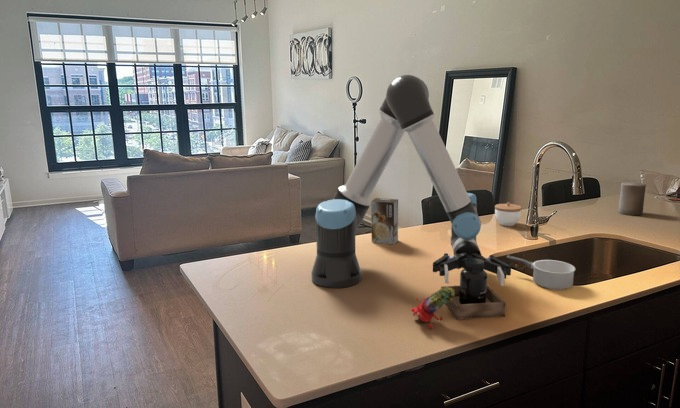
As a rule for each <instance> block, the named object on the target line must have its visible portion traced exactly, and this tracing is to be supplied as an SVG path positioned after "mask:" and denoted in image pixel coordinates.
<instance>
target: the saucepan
mask: <svg viewBox="0 0 680 408" xmlns="http://www.w3.org/2000/svg"><path fill="white" fill-rule="evenodd" d="M506 258H507V259H509V260H512V261H515V262H519V263H522V264H524V265H525V266H526V267H528V269H533V274H532V279H533V280H532V281H533V282H534V283H535V284H537V285H539V286H540V287H543V288H546V289H549V290H559V291H560V290H565V289H567V288H569V289H570V288H571V287H573V285H574V275H575V271H576V269H577V268H576V267H575V266H574V265H573V264H571V263H569V262H565V261H561V260H555V259H554V260H553V259H540V260H535V261H534V262H533V261H528V260H527V259H523V258H519V257H516V256H512V255H509V254H508V255H506Z"/></svg>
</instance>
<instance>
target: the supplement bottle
mask: <svg viewBox="0 0 680 408" xmlns="http://www.w3.org/2000/svg"><path fill="white" fill-rule="evenodd" d="M464 267H465V269H464V268H462V270H461V271H460V274H459V286H460V290H459V303H460V304H476V303H486V293H487V286H488V276H489V275H488V273H487V271H486V270H484V261H483V260H481V259H478V258H468V259H466V260H465V265H464Z"/></svg>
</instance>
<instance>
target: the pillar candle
mask: <svg viewBox="0 0 680 408" xmlns="http://www.w3.org/2000/svg"><path fill="white" fill-rule="evenodd" d="M646 187H647V185H646V183H643V182H635V181H631V182H629V181H627V182H626V181H624V182H621V185H620V196H619V202H618V213H619V214H620V215H627V216H636V217H637V216H642V215H643V214H644V213H643V212H644V203H645V197H646V195H645V194H646Z"/></svg>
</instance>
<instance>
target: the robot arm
mask: <svg viewBox="0 0 680 408" xmlns="http://www.w3.org/2000/svg"><path fill="white" fill-rule="evenodd" d="M429 97H430V92H429V89H428V87H427V84H426V83H425V82H424V80H422V79H420V77H417V76H415V75H411V74H402V75H399V76H397V77H396V78H394V79H393V80H392V81H391V82H390V83H389V85H388V87H387V90H386V94H385V98H384V100H383V102H382V104H381V106H380V108H379V110H378V111H379V115H380V118H379V120H378V122H377V124H376V125H375V127H374V130H373V131H372V133H371V135H370V137H369V139H368V141H367V143H366V144H365V147H364V148H363V150H362V153H361V154H360V156H359V158H358V160H357V162H356V164H355V166H354V168H353V170H352V172H351V173H350V175H349V177H348V179H347V181H346V183H345V184H343V185H340V186H338V188H337V189H336V192H335V193H334V195H333V197H332V199H328V200H324V201H322V202H320V203H319V204H318V205H317V207H316V209H315V210H316V211H315V217H314V219H315V231H316V233H315V235H316V256H315V260H314V262H313V265H312V269H311V281H312V283H314V284H315V285H317V286H320V287H323V288H331V289H332V288H334V289H338V288H339V289H340V288H348V287H353V286H355V285H357V284H359V283H360V282H361V281H362V270H361V267H360V264H359V260H358V258H357V257H358V256H357V255H356V254H357V253H356V232H357V229H358V228H359V227H360V226H361V225H362V222H363V220H364V218H365V216H366V214H367V212H368V211H369V208H370V207H371V200H370V198H371V197H370V196H371V195H372V193H373V191H374V189H375V187H376V185H377V184H378V182H379V180H380V178H381V176H382V175H383V173H384V171H385V169H386V167H387V165H388V164H389V162H390V160H391V158H392V156H393V155H394V153H395V151H396V149H397V147H398V145H399V144H400V142H401V140H402V138H403V136H404V134H405V133H407V134H408V136H409V138H410V140H411V143H412V145H413V147H414V149H415V151H416V152H417V155H418V156H419V158H420V161H421V164H422V165H423V167H424V169H425V171H426V174H427V176H428V178H429V179H430V181H431V183H432V185H433V188H434V189H435V192H436V193H437V196H438V198H439V200H440V202H441V204H442V206H443V209H444V210H445V213H446V215H447V217H448V219H449V221H450V223H451V229H450V230H451V231H450V232H451V235H450V236H451V237H450V245H451V248H452V252H453V256H451V255H450V254H449V253H447V252H445V253H443V255H442V256H441V257H440V258H438V259H436V260H435V261H433V262H432V272H433V273H438V272H439V274H438V275H439V276H440V277H444V283H445V284H449V277H450V276H449V273H450V271H451V272H452V270H455V269H457V270H459V269H465V267H464V265H465V260H466V259H468V258H478V259H481V260H483V261H484V269H483V270H484V271H486V272H489V273H493V274H494V275H496V278H497V281H498V282H499V285H500V286H501V287H504V286H505V279H507V276H509V277H510V276H511V275H512V274H511V273H512V265H510V264H508V263H506V262H504V261H502V260H500V259H499V258H496V257H495V256H494V255H493V254H490V255H489V256H488V257H485V256H483V255H482V252H481V250H480V248H479V245H478V242H477V236H478V235H479V233H480V231H481V226H482V224H481V223H482V222H481V219H480V217H479V214H478V211H477V210H478V209H477V205H478V203H477V196H476V194H474V193H471V192H467V190H466V188H465V185H464V183H463V181H462V180H461V178H460V175H459V172H458V171H457V170H458V169H456V167H455V164H454V163H453V162H454V161H452V158H451V156H450V153H449V152H448V150H447V147H446V146H445V143H444V141H443V139H442V137H441V135H440V133H439V131H438V128H437V126H436V124H435V121H434V118H435V113H434V111H433V109H432V107H431V103H430V101H429V100H430V98H429Z"/></svg>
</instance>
